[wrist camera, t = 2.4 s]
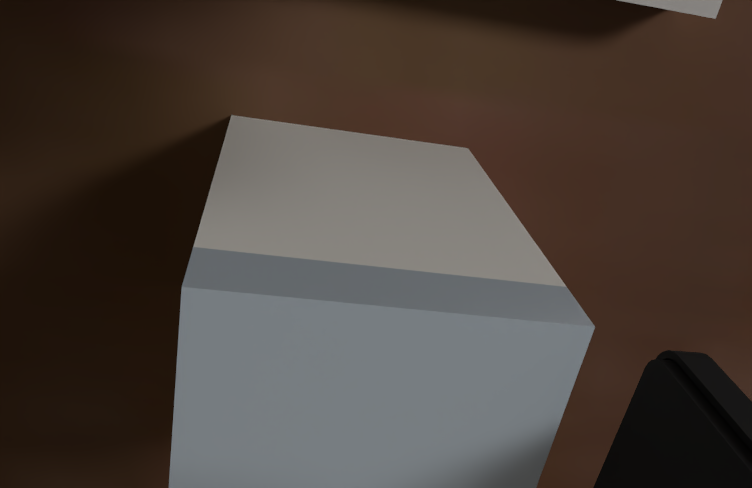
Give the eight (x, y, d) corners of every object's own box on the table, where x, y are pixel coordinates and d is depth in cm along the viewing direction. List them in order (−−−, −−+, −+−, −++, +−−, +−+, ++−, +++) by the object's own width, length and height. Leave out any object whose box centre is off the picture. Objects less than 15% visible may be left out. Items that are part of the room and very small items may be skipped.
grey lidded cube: (420, 341, 17) (495, 597, 11) (212, 323, 16) (162, 590, 10) (467, 148, 15) (594, 326, 9) (231, 114, 14) (181, 286, 8)
